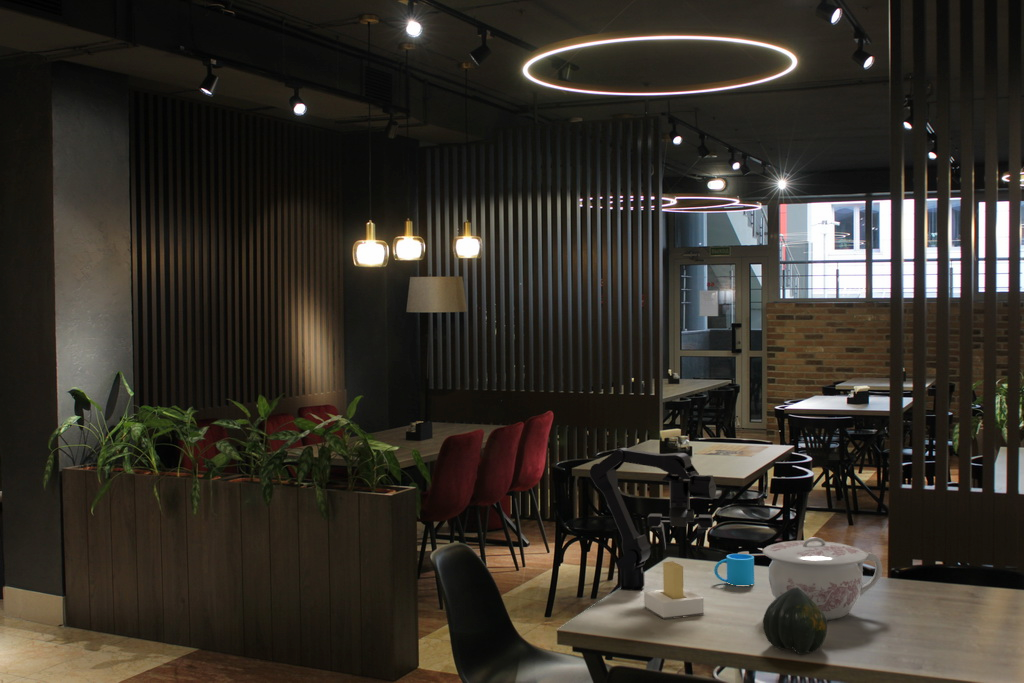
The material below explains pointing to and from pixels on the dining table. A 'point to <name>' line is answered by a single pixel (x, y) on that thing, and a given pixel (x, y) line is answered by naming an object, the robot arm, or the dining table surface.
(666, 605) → the white slotted base
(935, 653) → the dining table surface
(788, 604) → the squash
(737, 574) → the mug
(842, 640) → the dining table surface
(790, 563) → the chamber pot
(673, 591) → the block
